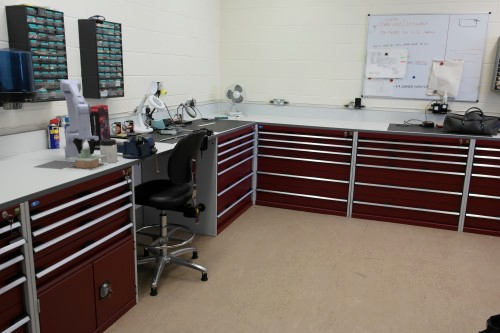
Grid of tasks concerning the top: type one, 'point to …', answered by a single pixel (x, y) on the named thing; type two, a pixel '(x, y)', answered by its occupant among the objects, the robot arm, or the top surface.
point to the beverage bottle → (67, 124)
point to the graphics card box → (99, 123)
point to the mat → (56, 164)
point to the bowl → (87, 164)
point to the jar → (108, 150)
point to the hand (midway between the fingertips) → (86, 153)
